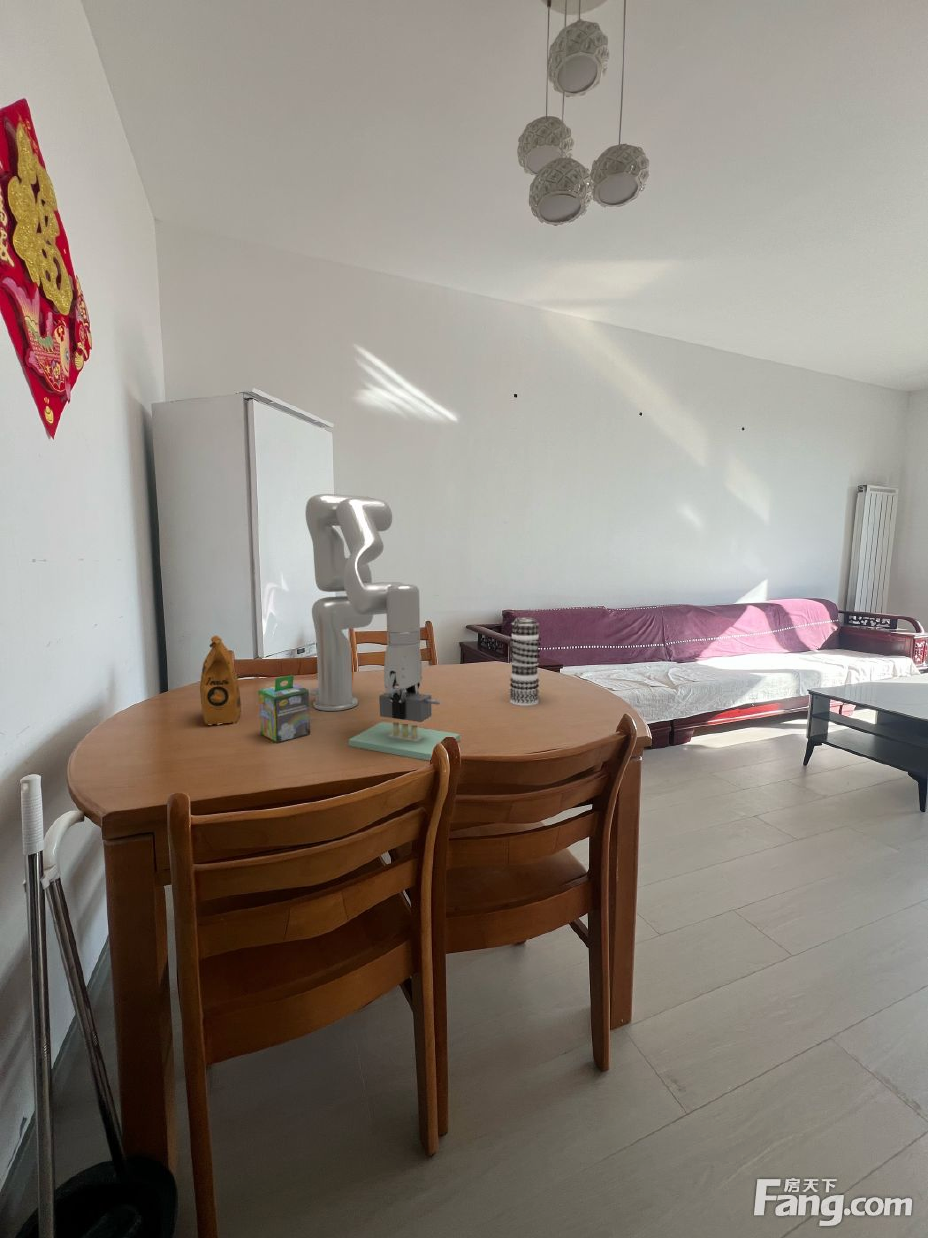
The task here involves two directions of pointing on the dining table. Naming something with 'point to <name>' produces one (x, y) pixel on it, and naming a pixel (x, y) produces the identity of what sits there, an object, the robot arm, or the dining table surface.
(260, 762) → the dining table surface
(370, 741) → the header board
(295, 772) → the dining table surface
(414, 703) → the plug housing
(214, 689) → the coffee package
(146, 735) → the dining table surface
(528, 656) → the decorative candle
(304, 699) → the chalk box
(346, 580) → the robot arm
